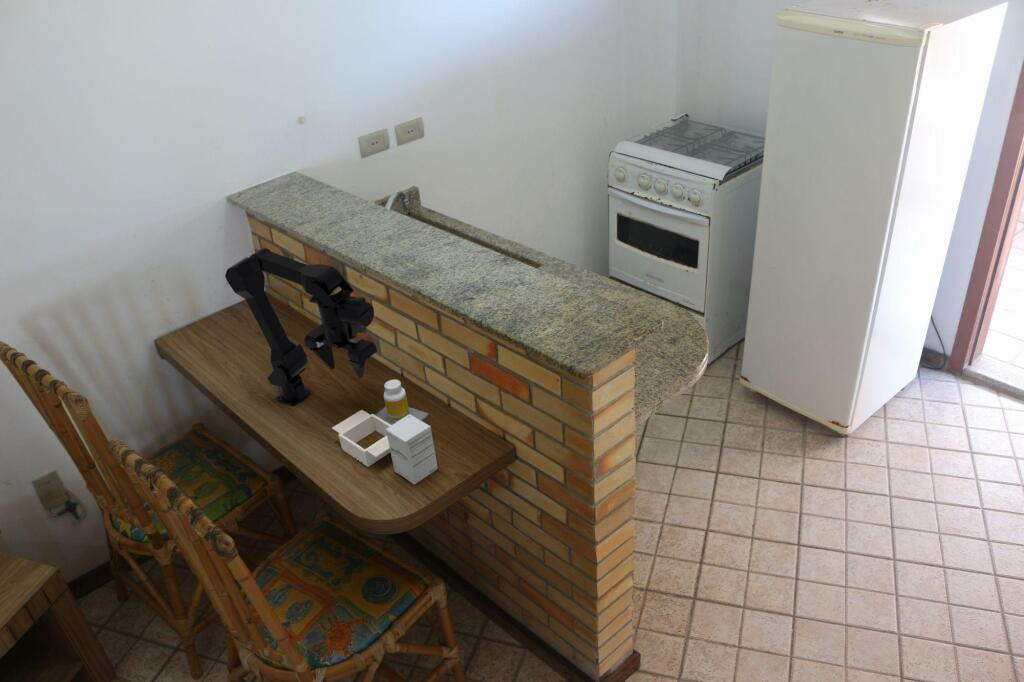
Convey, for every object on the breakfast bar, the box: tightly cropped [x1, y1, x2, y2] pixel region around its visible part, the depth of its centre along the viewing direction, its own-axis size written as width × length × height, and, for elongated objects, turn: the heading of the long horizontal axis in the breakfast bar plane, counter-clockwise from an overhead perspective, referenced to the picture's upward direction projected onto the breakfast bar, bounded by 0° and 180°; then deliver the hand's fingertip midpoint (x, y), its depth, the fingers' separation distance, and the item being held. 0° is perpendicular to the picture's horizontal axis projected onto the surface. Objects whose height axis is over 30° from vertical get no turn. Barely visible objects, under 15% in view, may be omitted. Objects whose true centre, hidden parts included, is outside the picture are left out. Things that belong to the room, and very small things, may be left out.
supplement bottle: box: [383, 379, 410, 422], centre depth 206 cm, size 5×5×10 cm
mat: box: [374, 405, 430, 425], centre depth 209 cm, size 12×8×1 cm, turn 58°
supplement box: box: [386, 414, 438, 485], centre depth 188 cm, size 7×7×13 cm
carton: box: [331, 409, 391, 468], centre depth 199 cm, size 17×10×4 cm, turn 46°
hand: (346, 373), depth 206 cm, fingers open, 9 cm apart
